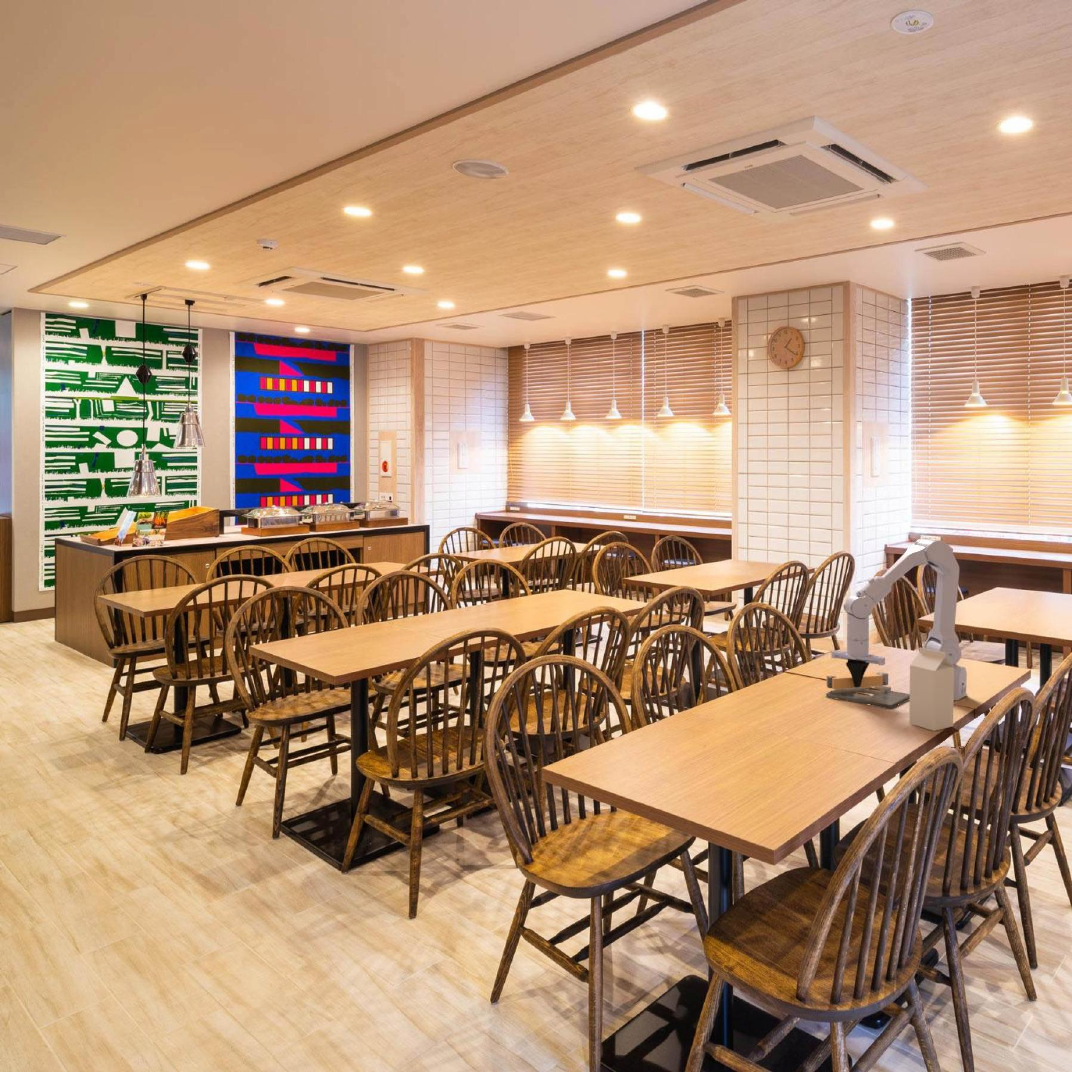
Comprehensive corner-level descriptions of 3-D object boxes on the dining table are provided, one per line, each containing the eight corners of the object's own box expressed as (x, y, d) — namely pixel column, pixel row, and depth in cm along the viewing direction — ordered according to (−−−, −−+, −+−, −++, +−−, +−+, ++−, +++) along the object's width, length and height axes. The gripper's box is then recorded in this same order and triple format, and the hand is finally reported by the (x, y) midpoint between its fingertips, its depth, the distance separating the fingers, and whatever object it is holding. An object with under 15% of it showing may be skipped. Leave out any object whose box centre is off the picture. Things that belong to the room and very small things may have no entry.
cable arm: (883, 681, 239) (883, 671, 239) (891, 685, 235) (891, 675, 235) (824, 685, 237) (824, 675, 236) (831, 689, 233) (831, 678, 232)
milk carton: (934, 731, 200) (935, 654, 199) (908, 724, 207) (909, 649, 205) (953, 726, 204) (954, 651, 202) (927, 719, 210) (929, 645, 208)
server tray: (916, 695, 232) (916, 689, 232) (890, 708, 220) (890, 703, 220) (854, 684, 245) (854, 679, 245) (826, 696, 232) (826, 691, 232)
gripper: (826, 637, 233) (826, 685, 234) (877, 644, 223) (877, 694, 224) (837, 633, 238) (837, 680, 239) (888, 640, 228) (887, 688, 229)
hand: (857, 686), depth 232 cm, fingers closed
